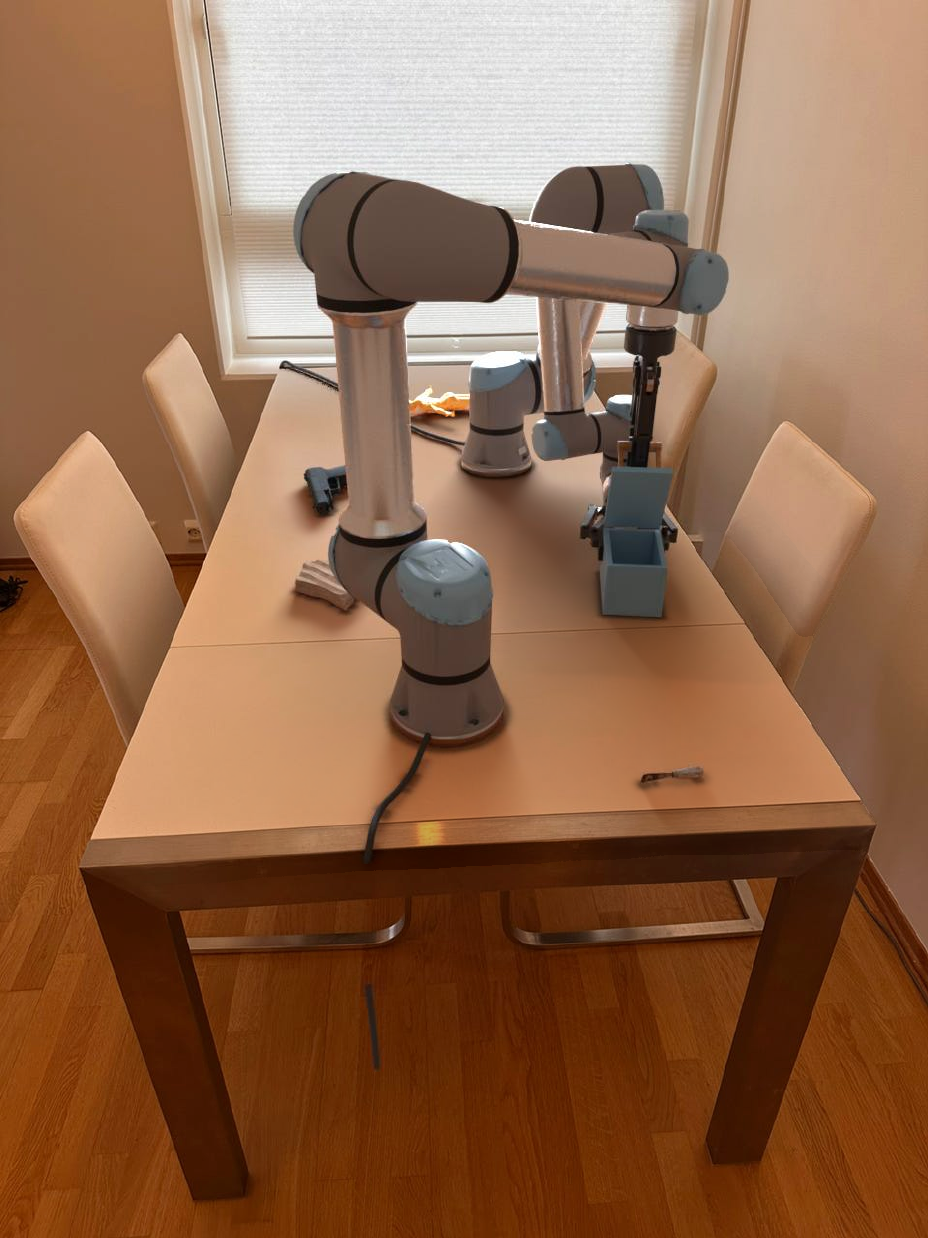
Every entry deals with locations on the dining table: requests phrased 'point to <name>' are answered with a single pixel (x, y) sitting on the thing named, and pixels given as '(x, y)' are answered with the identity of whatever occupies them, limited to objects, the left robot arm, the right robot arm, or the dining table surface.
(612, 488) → the lid
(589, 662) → the dining table surface
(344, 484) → the handgun
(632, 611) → the chest
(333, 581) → the stone
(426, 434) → the right robot arm
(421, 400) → the human figure
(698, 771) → the putty knife
